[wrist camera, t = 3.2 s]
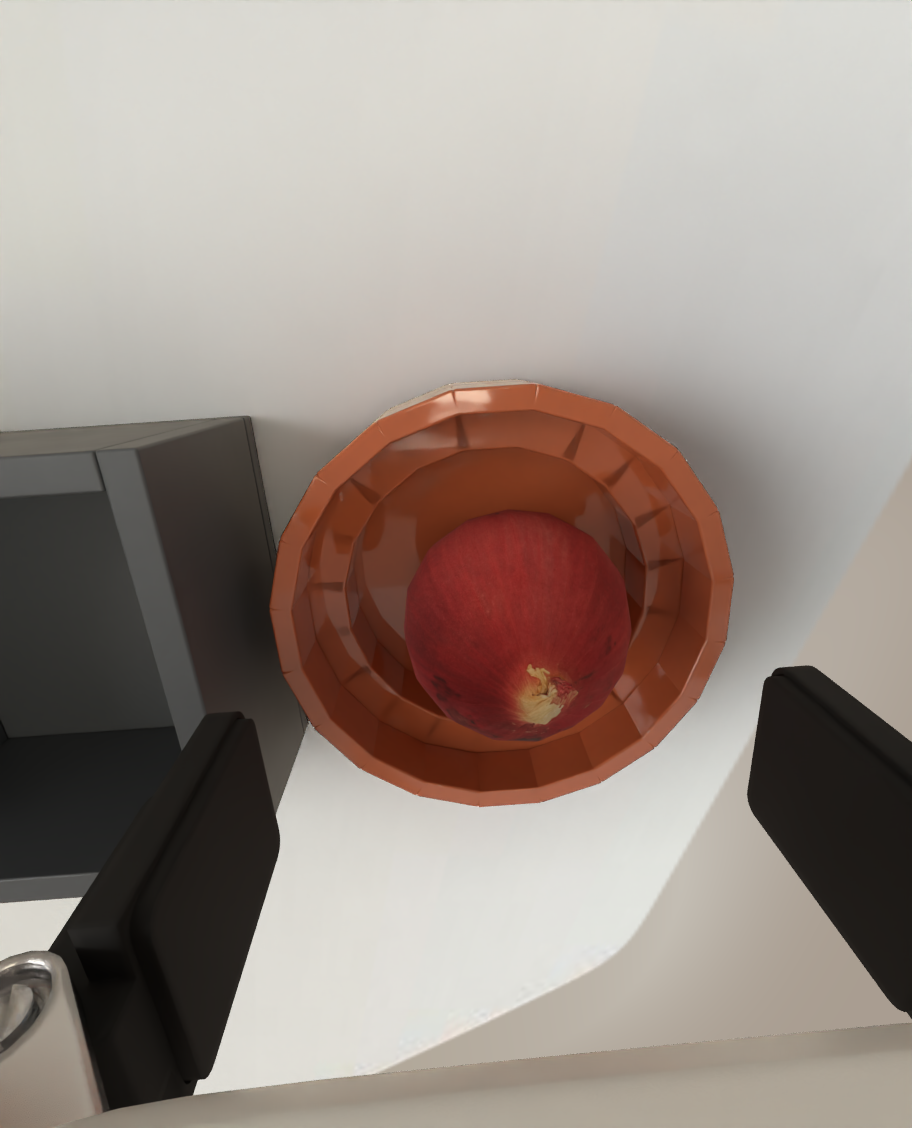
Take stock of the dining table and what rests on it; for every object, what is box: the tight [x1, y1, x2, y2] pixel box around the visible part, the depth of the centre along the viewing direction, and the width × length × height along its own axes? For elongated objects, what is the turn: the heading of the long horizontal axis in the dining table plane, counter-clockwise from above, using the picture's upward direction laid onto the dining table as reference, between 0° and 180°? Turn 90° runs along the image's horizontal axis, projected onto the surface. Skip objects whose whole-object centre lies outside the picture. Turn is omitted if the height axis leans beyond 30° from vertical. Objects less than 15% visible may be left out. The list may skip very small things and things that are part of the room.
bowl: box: [269, 379, 734, 807], centre depth 16 cm, size 12×12×4 cm
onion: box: [404, 509, 632, 742], centre depth 14 cm, size 6×6×8 cm
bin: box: [0, 416, 308, 903], centre depth 15 cm, size 11×11×7 cm
